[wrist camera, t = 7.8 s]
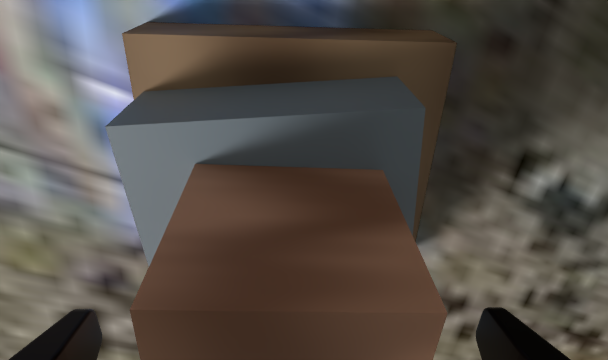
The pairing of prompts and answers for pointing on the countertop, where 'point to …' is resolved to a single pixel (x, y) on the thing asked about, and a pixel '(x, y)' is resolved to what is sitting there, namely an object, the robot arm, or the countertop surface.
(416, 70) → the walnut base slab
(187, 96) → the slate top slab
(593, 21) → the countertop surface
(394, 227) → the terracotta block
